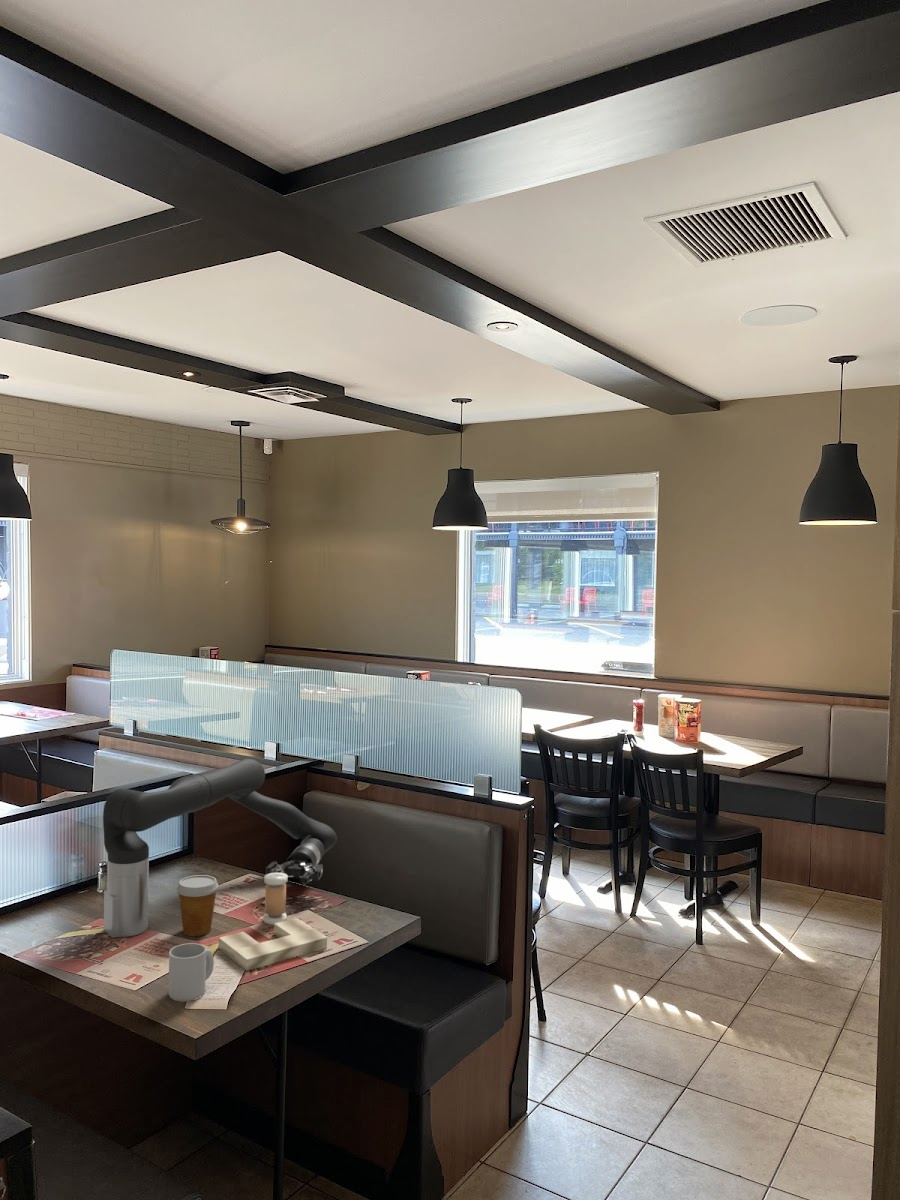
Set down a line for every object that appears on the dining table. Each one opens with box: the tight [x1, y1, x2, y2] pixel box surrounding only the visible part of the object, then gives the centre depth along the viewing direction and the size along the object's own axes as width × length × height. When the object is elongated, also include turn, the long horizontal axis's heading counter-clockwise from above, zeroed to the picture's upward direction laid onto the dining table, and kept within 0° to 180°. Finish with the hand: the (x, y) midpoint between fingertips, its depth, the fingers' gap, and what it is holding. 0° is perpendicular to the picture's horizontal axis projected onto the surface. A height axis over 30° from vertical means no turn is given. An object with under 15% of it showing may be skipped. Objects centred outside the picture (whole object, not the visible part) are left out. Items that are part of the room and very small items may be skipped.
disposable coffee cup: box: [176, 874, 219, 937], centre depth 215 cm, size 10×10×12 cm
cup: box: [168, 942, 215, 1003], centre depth 185 cm, size 7×10×9 cm
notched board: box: [218, 917, 328, 972], centre depth 206 cm, size 20×14×2 cm
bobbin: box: [263, 872, 289, 926], centre depth 222 cm, size 6×6×11 cm
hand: (287, 880), depth 232 cm, fingers open, 8 cm apart
